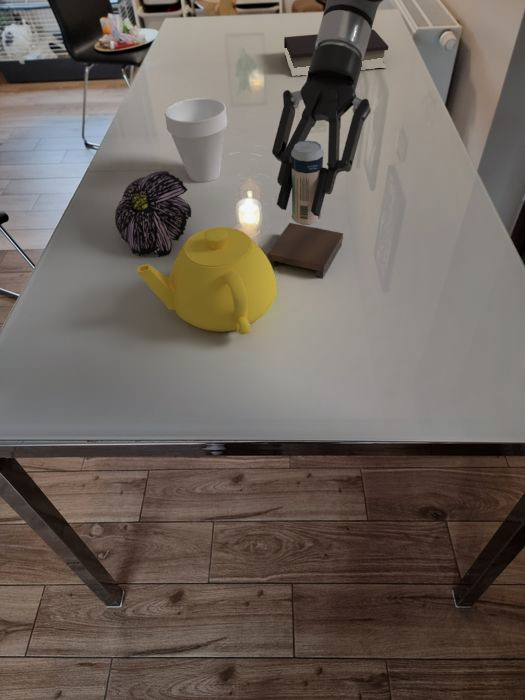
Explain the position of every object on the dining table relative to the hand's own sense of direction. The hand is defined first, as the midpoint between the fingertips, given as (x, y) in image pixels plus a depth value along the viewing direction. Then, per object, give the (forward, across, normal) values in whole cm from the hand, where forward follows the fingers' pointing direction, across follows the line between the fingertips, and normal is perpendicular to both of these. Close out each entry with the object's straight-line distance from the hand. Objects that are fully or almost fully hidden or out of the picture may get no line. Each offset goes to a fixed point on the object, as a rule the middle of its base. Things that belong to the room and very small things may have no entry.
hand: (298, 210), depth 76 cm
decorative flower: (+8, +28, -8) cm, 30 cm away
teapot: (+18, +8, +2) cm, 20 cm away
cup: (-9, +31, -25) cm, 41 cm away
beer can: (0, 0, -5) cm, 5 cm away
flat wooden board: (+5, 0, -10) cm, 12 cm away
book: (-63, +27, -79) cm, 105 cm away
